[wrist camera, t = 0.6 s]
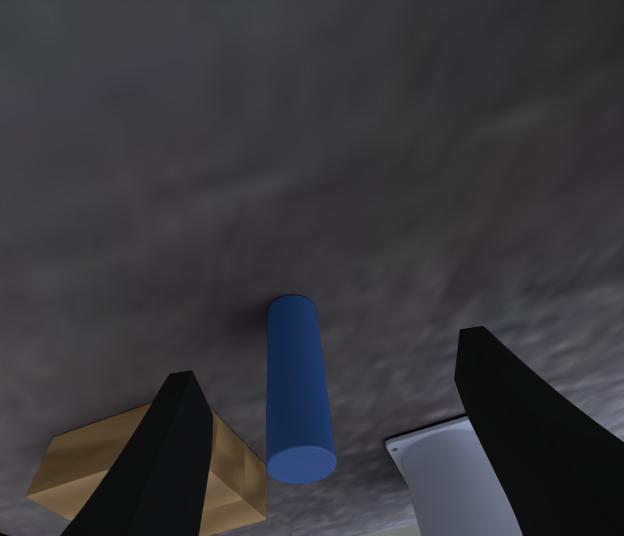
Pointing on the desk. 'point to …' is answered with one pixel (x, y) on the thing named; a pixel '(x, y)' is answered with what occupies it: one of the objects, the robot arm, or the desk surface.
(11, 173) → the desk surface
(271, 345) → the handle
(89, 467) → the holder
